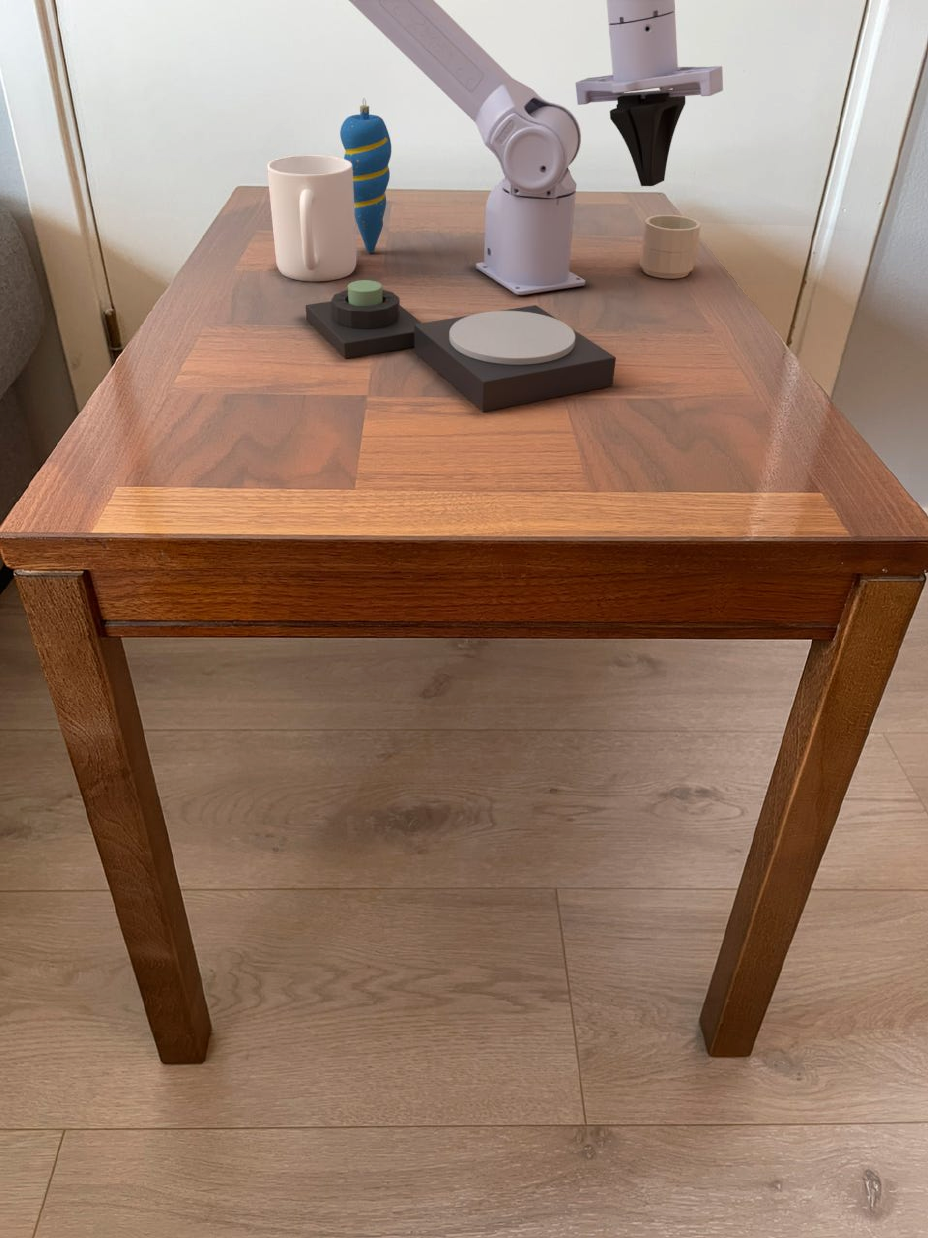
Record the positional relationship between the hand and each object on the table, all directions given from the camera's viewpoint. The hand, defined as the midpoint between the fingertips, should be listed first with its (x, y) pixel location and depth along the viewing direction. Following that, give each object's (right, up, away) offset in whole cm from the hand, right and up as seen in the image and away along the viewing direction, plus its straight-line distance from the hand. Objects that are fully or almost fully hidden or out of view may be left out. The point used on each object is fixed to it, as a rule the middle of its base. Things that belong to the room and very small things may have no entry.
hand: (652, 183), depth 92 cm
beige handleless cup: (+4, -4, +11) cm, 13 cm away
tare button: (-27, -13, -6) cm, 30 cm away
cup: (-33, -6, +8) cm, 35 cm away
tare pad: (-27, -15, -4) cm, 31 cm away
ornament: (-28, -1, +14) cm, 32 cm away
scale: (-14, -20, -10) cm, 27 cm away
